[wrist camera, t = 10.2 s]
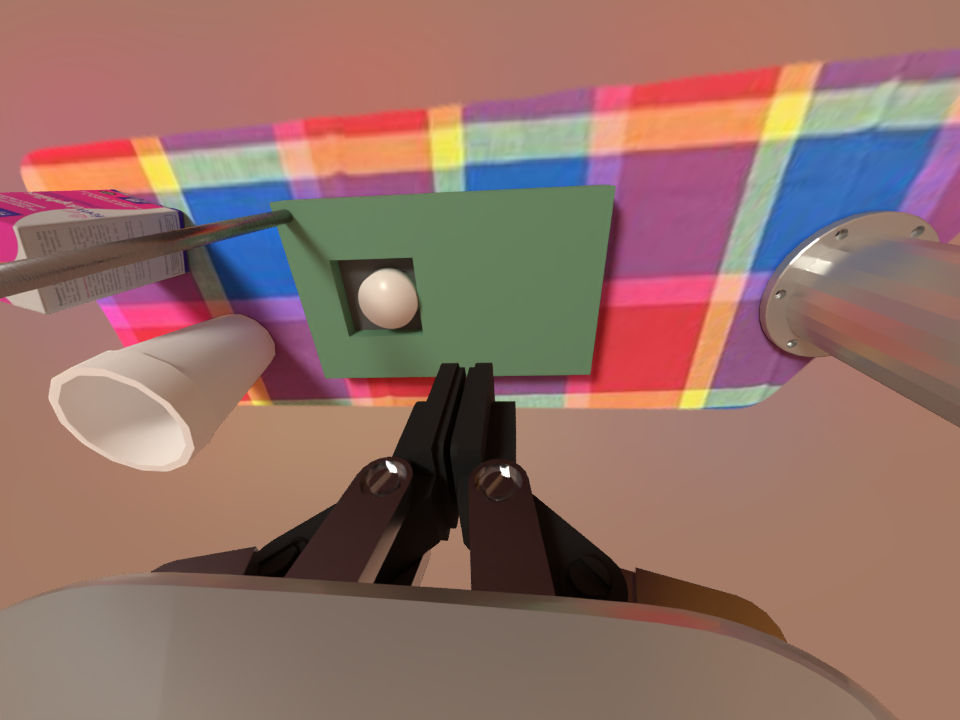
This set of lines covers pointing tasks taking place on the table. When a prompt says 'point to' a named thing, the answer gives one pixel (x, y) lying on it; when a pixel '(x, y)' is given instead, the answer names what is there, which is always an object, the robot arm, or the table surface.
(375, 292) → the cream rounded stone
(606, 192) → the putting mat
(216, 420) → the foam cup
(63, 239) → the supplement box
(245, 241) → the table surface
